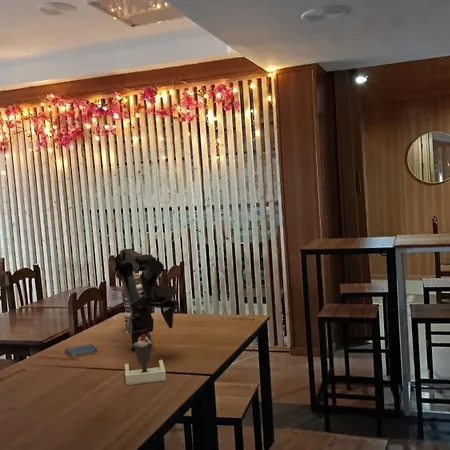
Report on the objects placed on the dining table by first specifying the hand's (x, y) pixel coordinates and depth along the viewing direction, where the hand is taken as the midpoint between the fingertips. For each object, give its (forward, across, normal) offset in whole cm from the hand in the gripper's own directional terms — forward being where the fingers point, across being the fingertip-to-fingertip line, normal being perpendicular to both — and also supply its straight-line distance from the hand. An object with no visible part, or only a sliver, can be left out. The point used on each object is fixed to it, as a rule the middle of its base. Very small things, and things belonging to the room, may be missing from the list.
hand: (161, 327), depth 196 cm
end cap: (+15, -10, +4) cm, 19 cm away
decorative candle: (-16, +28, +40) cm, 52 cm away
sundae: (+15, -10, +4) cm, 18 cm away
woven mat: (-7, -3, +40) cm, 41 cm away
